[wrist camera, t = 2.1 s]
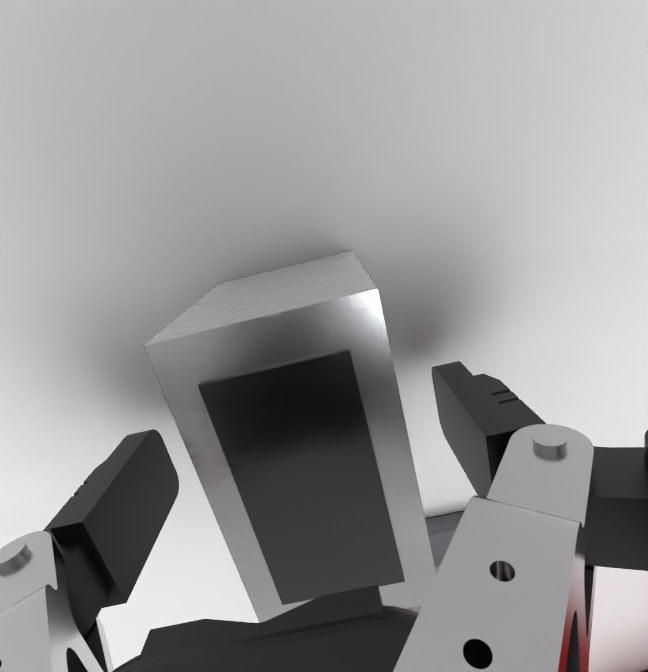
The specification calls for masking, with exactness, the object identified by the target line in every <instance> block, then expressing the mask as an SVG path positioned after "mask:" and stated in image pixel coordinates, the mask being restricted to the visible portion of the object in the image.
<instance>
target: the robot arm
mask: <svg viewBox="0 0 648 672" xmlns="http://www.w3.org/2000/svg"><path fill="white" fill-rule="evenodd" d="M432 378H433V384H434V390H435V396H436V402H437V408H438V415H439V420H440V424H441V427H442V430H443V433H444V436H445V438H446V440H447V441H448V443H449V445H450V447H451V449H452V450H453V452H454V454H455V456H456V457H457V459H458V461H459V463H460V464H461V466H462V468H463V470H464V472H465V473H466V475H467V477H468V479H469V480H470V482H471V484H472V486H473V487H474V489H475V491H476V493H477V495H478V496H473V497H472V498H471V499H470V501H469V502H468V504H467V506H466V509H465V511H464V513H463V515H462V518H461V520H460V522H459V524H458V527H457V529H456V531H455V533H454V536H453V538H452V540H451V542H450V545H449V547H448V549H447V551H446V554H445V556H444V558H443V560H442V563H441V565H440V567H439V569H438V572H437V574H436V576H435V578H434V581H433V583H432V585H431V587H430V590H429V592H428V594H427V596H426V599H425V601H424V603H423V605H422V608H421V610H420V612H419V613H418V612H415V611H412V610H409V609H405V608H400V607H396V606H385V605H383V602H382V598H381V594H380V590H379V586H378V585H373V586H368V587H363V588H358V589H353V590H348V591H343V592H338V593H333V594H328V595H323V596H320V597H317V598H315V599H313V600H311V601H309V602H306V603H304V604H302V605H300V606H298V607H296V608H293V609H291V610H289V611H287V612H285V613H282V614H280V615H278V616H276V617H274V618H271V619H269V620H267V621H264V622H261V623H247V622H235V621H224V620H212V619H202V620H197V621H192V622H187V623H182V624H177V625H172V626H167V627H162V628H157V629H151V630H150V632H149V634H148V637H147V639H146V642H145V644H144V647H143V650H142V652H141V655H139V656H137V657H135V658H133V659H131V660H129V661H128V662H126V663H124V664H122V665H121V666H119V667H118V668H116V669H115V670H114V669H113V664H112V660H111V656H110V652H109V648H108V644H107V640H106V636H105V631H104V627H103V625H102V623H101V621H100V620H99V618H98V614H99V612H100V610H101V608H104V607H109V606H114V605H119V604H124V603H126V602H127V600H128V598H129V596H130V594H131V592H132V590H133V588H134V586H135V584H136V581H137V579H138V577H139V575H140V573H141V571H142V569H143V567H144V565H145V563H146V560H147V558H148V556H149V554H150V552H151V550H152V548H153V546H154V544H155V542H156V539H157V537H158V535H159V533H160V531H161V529H162V527H163V525H164V523H165V520H166V518H167V516H168V514H169V512H170V510H171V508H172V506H173V504H174V502H175V499H176V497H177V495H178V490H179V480H178V475H177V472H176V470H175V468H174V465H173V463H172V460H171V458H170V456H169V453H168V451H167V449H166V446H165V444H164V442H163V439H162V437H161V435H160V433H159V432H158V431H156V430H149V431H144V432H140V433H135V434H131V435H127V436H126V437H125V438H124V439H123V440H122V442H121V443H120V444H119V445H118V446H117V448H116V449H115V450H114V451H113V453H112V454H111V455H110V456H109V457H108V459H107V460H106V461H104V462H103V463H102V464H101V465H99V466H98V467H97V468H96V469H94V471H93V472H92V473H91V474H90V475H89V477H88V478H87V479H86V480H85V481H84V485H81V486H80V487H79V488H78V490H77V491H76V492H75V493H74V496H73V497H71V498H70V499H69V500H68V502H67V503H66V504H65V505H64V506H63V508H62V509H61V510H60V511H59V512H58V514H57V515H56V516H55V517H54V518H53V519H52V521H51V522H50V523H49V524H48V525H47V527H46V528H45V529H44V530H43V531H38V532H33V533H30V534H27V535H24V536H22V537H20V538H18V539H16V540H14V541H12V542H10V543H9V544H7V545H5V546H4V547H2V548H1V549H0V672H588V666H589V649H590V638H591V627H592V615H593V604H594V592H595V581H596V570H597V566H601V567H612V568H623V569H633V570H644V571H648V430H647V431H646V433H645V447H634V448H609V447H595V446H593V445H592V443H591V441H590V440H589V439H588V438H587V437H586V436H585V435H583V434H582V433H580V432H578V431H576V430H574V429H571V428H568V427H564V426H560V425H553V424H546V423H545V422H544V421H543V420H542V419H541V418H540V417H539V416H538V415H536V414H535V413H534V412H533V411H532V410H531V409H530V408H529V407H528V406H527V405H526V404H525V403H524V402H523V401H521V400H519V399H518V397H517V396H516V395H515V394H514V393H513V392H512V391H511V392H510V389H509V388H508V387H507V386H505V385H504V384H503V383H502V382H501V381H500V380H498V379H496V378H493V377H491V376H488V375H485V374H480V375H475V376H473V375H472V374H471V373H470V372H469V371H468V370H467V369H466V367H465V366H464V365H463V364H462V363H461V362H460V361H457V362H453V363H448V364H444V365H440V366H435V367H432Z"/></svg>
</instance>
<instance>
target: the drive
mask: <svg viewBox="0 0 648 672" xmlns="http://www.w3.org/2000/svg"><path fill="white" fill-rule="evenodd" d="M143 346H144V348H145V351H146V353H147V355H148V358H149V360H150V363H151V365H152V367H153V370H154V372H155V375H156V377H157V379H158V382H159V384H160V386H161V389H162V391H163V394H164V396H165V398H166V401H167V403H168V405H169V408H170V410H171V413H172V415H173V417H174V420H175V422H176V425H177V427H178V429H179V432H180V434H181V436H182V439H183V441H184V444H185V446H186V448H187V451H188V453H189V455H190V458H191V460H192V463H193V465H194V467H195V470H196V472H197V475H198V477H199V479H200V482H201V484H202V486H203V489H204V491H205V494H206V496H207V498H208V501H209V503H210V506H211V508H212V510H213V513H214V515H215V517H216V520H217V522H218V525H219V527H220V529H221V532H222V534H223V536H224V539H225V541H226V544H227V546H228V548H229V551H230V553H231V556H232V558H233V560H234V563H235V565H236V567H237V570H238V572H239V575H240V577H241V579H242V582H243V584H244V586H245V589H246V591H247V594H248V596H249V598H250V601H251V603H252V606H253V608H254V610H255V613H256V615H257V617H258V620H259V622H260V623H261V622H264V621H267V620H269V619H271V618H274V617H276V616H278V615H280V614H282V613H285V612H287V611H289V610H291V609H293V608H296V607H298V606H300V605H302V604H304V603H306V602H309V601H311V600H313V599H315V598H317V597H320V596H323V595H328V594H333V593H338V592H343V591H348V590H353V589H358V588H363V587H368V586H373V585H378V586H379V590H380V594H381V598H382V602H383V605H385V606H396V607H400V608H411V607H416V606H421V605H423V603H424V601H425V599H426V596H427V594H428V592H429V590H430V587H431V585H432V583H433V581H434V578H435V576H436V571H435V566H434V561H433V556H432V551H431V547H430V542H429V537H428V532H427V527H426V522H425V517H424V512H423V507H422V502H421V498H420V493H419V488H418V483H417V478H416V473H415V468H414V463H413V458H412V453H411V448H410V444H409V439H408V434H407V429H406V424H405V419H404V414H403V409H402V404H401V399H400V395H399V390H398V385H397V380H396V375H395V370H394V365H393V360H392V355H391V350H390V346H389V341H388V336H387V331H386V326H385V321H384V316H383V311H382V306H381V301H380V297H379V292H378V288H377V287H376V285H375V284H374V282H373V281H372V279H371V278H370V276H369V275H368V273H367V272H366V270H365V269H364V267H363V266H362V264H361V263H360V261H359V260H358V258H357V257H356V256H355V254H354V253H353V251H352V250H351V251H347V252H343V253H339V254H335V255H331V256H327V257H323V258H319V259H315V260H311V261H307V262H303V263H299V264H295V265H291V266H287V267H283V268H279V269H275V270H271V271H267V272H263V273H259V274H255V275H251V276H247V277H243V278H239V279H235V280H231V281H227V282H223V283H219V284H217V285H216V286H215V287H214V288H213V289H211V290H210V291H209V292H208V293H207V294H205V295H204V296H203V297H202V298H200V299H199V300H198V301H197V302H196V303H194V304H193V305H192V306H191V307H190V308H188V309H187V310H186V311H185V312H183V313H182V314H181V315H180V316H179V317H177V318H176V319H175V320H174V321H173V322H171V323H170V324H169V325H168V326H166V327H165V328H164V329H163V330H162V331H160V332H159V333H158V334H157V335H155V336H154V337H153V338H152V339H151V340H149V341H148V342H147V343H146V344H145V345H143Z"/></svg>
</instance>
